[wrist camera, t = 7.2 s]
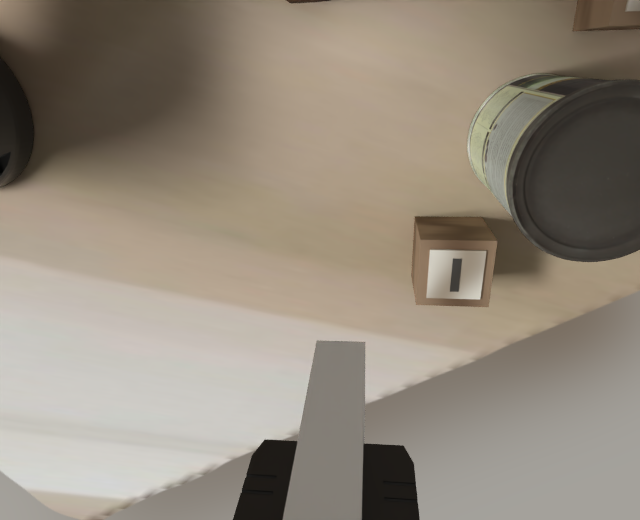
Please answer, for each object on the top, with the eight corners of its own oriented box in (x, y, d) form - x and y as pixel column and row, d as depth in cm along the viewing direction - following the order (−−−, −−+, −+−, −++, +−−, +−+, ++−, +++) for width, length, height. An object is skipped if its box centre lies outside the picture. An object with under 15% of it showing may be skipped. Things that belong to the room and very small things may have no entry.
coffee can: (568, 45, 35) (679, 38, 22) (612, 160, 38) (732, 212, 25) (444, 116, 38) (479, 145, 25) (494, 217, 41) (548, 289, 28)
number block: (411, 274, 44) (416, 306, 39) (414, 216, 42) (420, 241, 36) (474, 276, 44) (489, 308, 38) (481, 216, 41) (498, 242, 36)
